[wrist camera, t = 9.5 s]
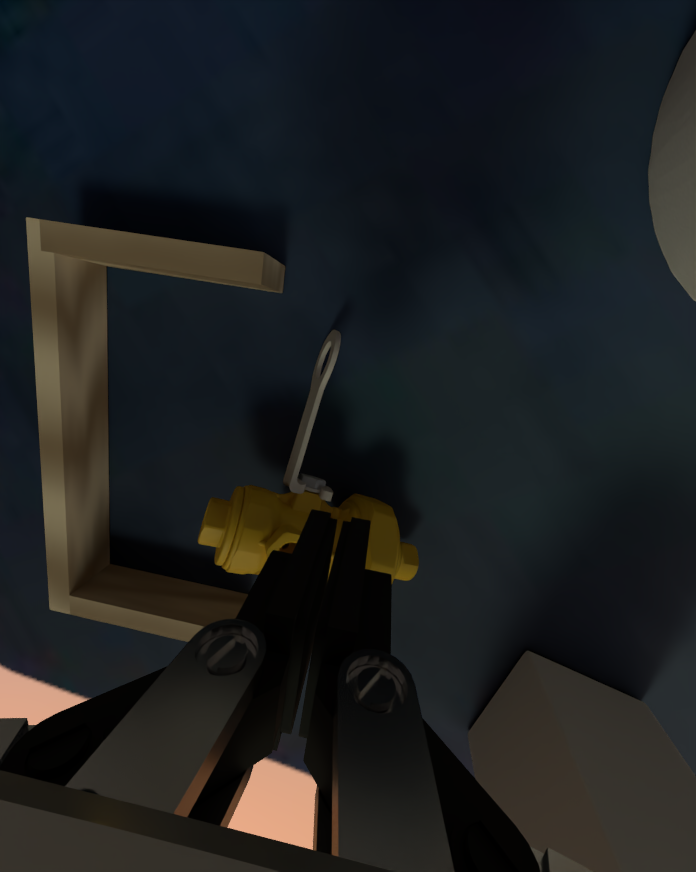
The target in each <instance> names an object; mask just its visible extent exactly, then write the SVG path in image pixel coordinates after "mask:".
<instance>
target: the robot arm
mask: <svg viewBox="0 0 696 872" xmlns="http://www.w3.org/2000/svg"><path fill="white" fill-rule="evenodd" d="M370 524H371V521H370V520H365V519H360V518H355V517H352V519H351V522H348V521H343V524H342V528H341V531H340V535H339V539H338V543H337V547H336V551H335V555H334V558H333V562H332V566H331V570H330V574H329V569H330V563H331V557H332V551H333V545H334V538H335V532H336V526H337V519H333V518H331V513H329V512H324V511H319V510H314V509H312V510H311V512H310V514H309V516H308V519H307V521H306V523H305V525H304V528H303V530H302V532H301V534H300V537H299V539H298V541H297V543H296V546H295V548H294V550H293V553H292V554H291V553H286V552H281V551H276V550H273V551H272V552H271V553H270V555H269V557H268V558H267V560H266V562H265V564H264V566H263V568H262V570H261V572H260V573H259V575H258V577H257V579H256V581H255V583H254V585H253V587H252V588H251V590H250V592H249V594H248V596H247V598H246V600H245V601H244V603H243V605H242V607H241V609H240V611H239V613H238V615H237V616H236V618H235V619H223V620H220V621H216V622H213V623H211V624H209V625H207V626H205V627H203V628H202V629H201V630H200V631H198V632H197V633H196V634H195V635H194V636H193V637H192V638H191V640H190V641H189V642H188V643H187V644H186V645H185V647H184V648H183V649H182V650H181V651H180V652H179V654H178V655H177V656H176V657H175V658H174V659H173V661H172V662H171V663H170V664H169V665H168V666H167V667H165V668H162V669H160V670H158V671H155V672H153V673H151V674H148V675H146V676H144V677H141V678H139V679H136V680H134V681H132V682H129V683H127V684H125V685H122V686H120V687H118V688H115V689H113V690H110V691H108V692H106V693H103V694H101V695H99V696H96V697H94V698H92V699H89V700H87V701H85V702H82V703H80V704H78V705H75V706H73V707H70V708H68V709H66V710H64V711H61V712H59V713H57V714H55V715H53V716H51V717H49V718H47V719H45V720H43V721H42V722H40V723H39V724H37V725H28V721H27V718H2V719H0V872H594V871H592V870H590V869H588V868H587V867H585V866H583V865H581V864H579V863H577V862H575V861H573V860H571V859H569V858H567V857H565V856H564V855H562V854H560V853H558V852H556V851H554V850H552V849H550V848H548V847H547V849H546V851H545V853H544V854H543V853H542V852H540V851H538V850H536V849H534V848H532V847H530V845H529V843H528V842H527V841H526V839H525V838H524V836H523V835H522V834H521V832H520V831H519V829H518V828H517V827H516V825H515V824H514V823H513V822H512V821H511V820H510V818H509V817H508V816H507V815H506V814H505V813H504V811H503V810H502V809H501V808H500V807H499V806H498V805H497V803H496V802H495V801H494V800H493V799H492V798H491V796H490V795H489V794H488V793H487V792H486V791H485V790H484V788H483V787H482V786H481V785H480V784H479V783H478V782H477V780H476V779H475V778H474V777H473V776H472V775H471V773H470V772H469V771H468V770H467V769H466V768H465V767H464V765H463V764H462V763H461V762H460V761H459V760H458V759H457V757H456V756H455V755H454V754H453V753H452V752H451V750H450V749H449V748H448V747H447V746H446V745H445V744H444V742H443V741H442V740H441V739H440V738H439V737H438V735H437V734H436V733H435V732H434V731H433V730H432V729H431V727H430V726H429V725H428V724H427V723H426V722H425V721H424V719H423V718H422V715H421V710H420V705H419V701H418V696H417V691H416V686H415V683H414V681H413V678H412V675H411V673H410V672H409V671H408V669H407V668H406V666H405V665H404V664H403V663H402V662H401V661H399V660H398V659H397V658H396V657H394V656H393V655H391V587H392V577H391V574H388V573H383V572H378V571H373V570H369V569H365V565H366V557H367V549H368V541H369V532H370ZM328 575H329V578H328ZM327 581H328V582H327ZM311 653H312V655H311ZM310 657H311V662H310V668H309V674H308V680H307V687H306V693H305V699H304V706H303V712H302V718H301V724H300V731H299V736H300V737H304V738H307V743H306V749H305V755H304V762H305V764H306V766H307V768H308V770H309V771H310V773H311V775H312V777H313V779H314V780H315V782H316V784H317V789H316V794H315V814H314V815H315V816H314V838H313V850H311V849H307V848H303V847H299V846H295V845H291V844H288V843H284V842H280V841H276V840H272V839H268V838H265V837H261V836H257V835H253V834H249V833H245V832H242V831H238V830H234V829H230V828H227V827H228V824H229V822H230V820H231V818H232V816H233V814H234V811H235V809H236V807H237V805H238V803H239V801H240V798H241V796H242V794H243V792H244V790H245V788H246V785H247V783H248V781H249V778H250V775H251V772H252V769H253V765H254V764H256V763H257V762H259V761H260V760H262V759H263V758H265V757H266V756H268V755H269V754H271V753H272V750H276V751H277V748H278V744H279V741H280V737H281V733H282V732H283V733H287V734H291V732H292V729H293V725H294V721H295V717H296V713H297V709H298V705H299V701H300V697H301V693H302V689H303V685H304V681H305V677H306V673H307V669H308V665H309V661H310Z"/></svg>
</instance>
